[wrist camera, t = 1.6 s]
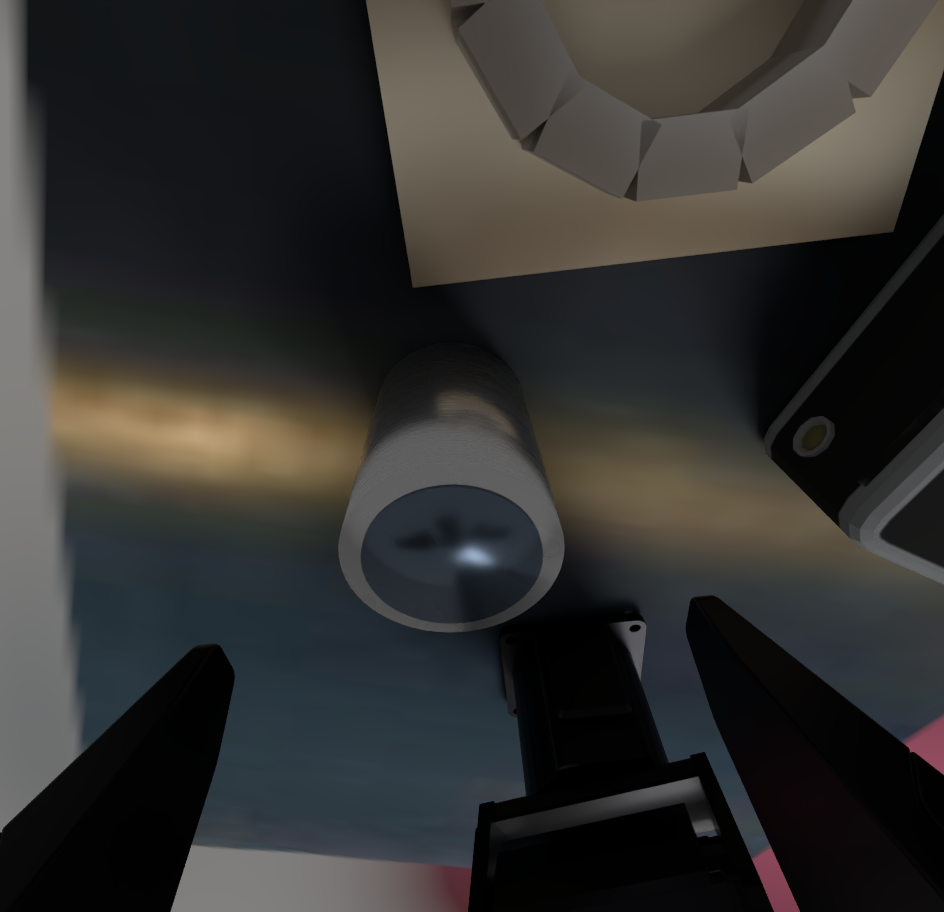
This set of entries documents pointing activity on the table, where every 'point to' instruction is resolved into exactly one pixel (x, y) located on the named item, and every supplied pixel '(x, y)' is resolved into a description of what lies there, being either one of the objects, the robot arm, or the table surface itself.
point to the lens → (451, 497)
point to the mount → (647, 126)
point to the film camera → (879, 421)
